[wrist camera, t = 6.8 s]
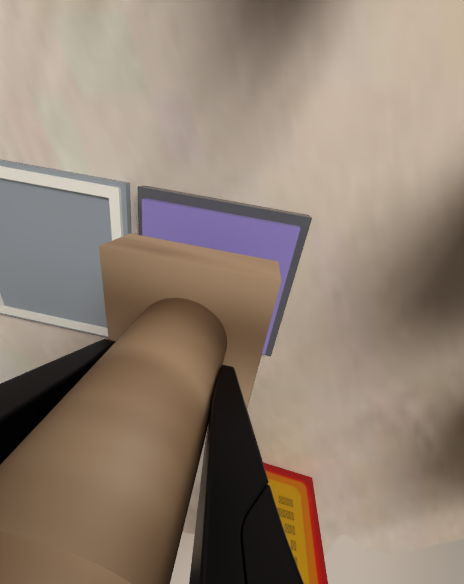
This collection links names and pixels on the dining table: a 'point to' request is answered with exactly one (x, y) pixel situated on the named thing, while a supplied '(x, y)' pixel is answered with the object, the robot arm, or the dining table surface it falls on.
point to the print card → (57, 244)
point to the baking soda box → (299, 521)
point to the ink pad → (228, 233)
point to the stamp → (134, 417)
